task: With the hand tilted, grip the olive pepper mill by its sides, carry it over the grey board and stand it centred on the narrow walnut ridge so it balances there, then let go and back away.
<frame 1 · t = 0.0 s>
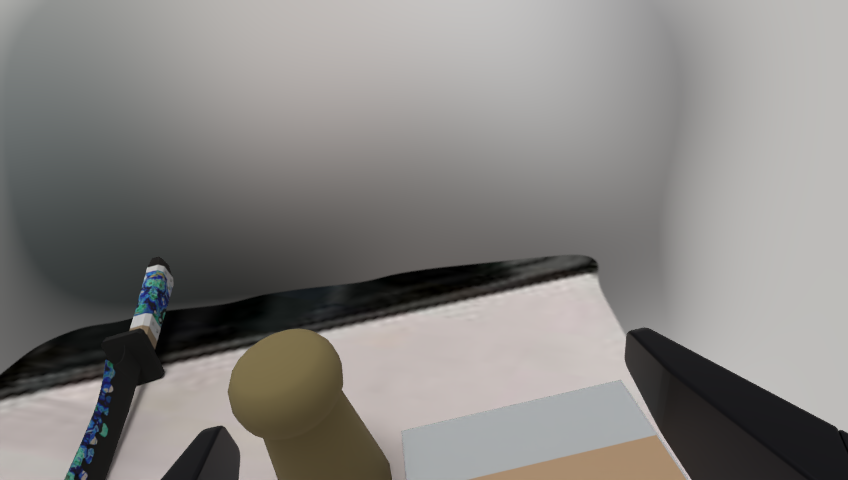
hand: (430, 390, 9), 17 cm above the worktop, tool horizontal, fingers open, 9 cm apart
knife: (133, 412, 33), on the worktop
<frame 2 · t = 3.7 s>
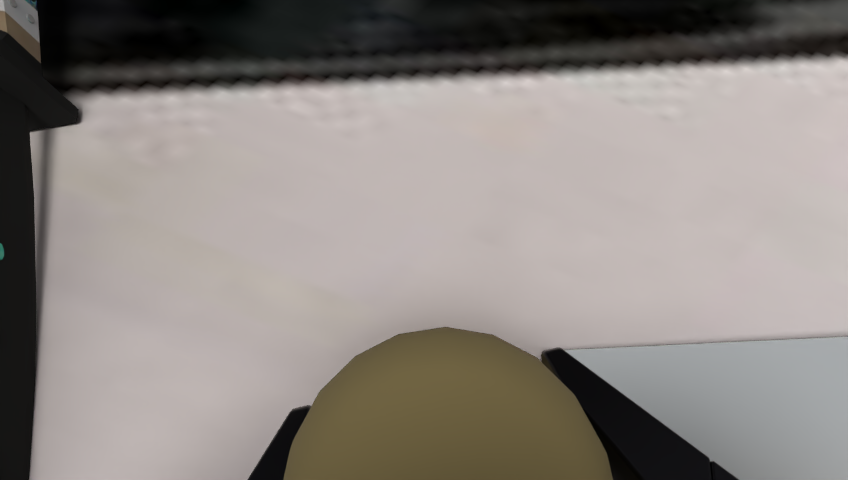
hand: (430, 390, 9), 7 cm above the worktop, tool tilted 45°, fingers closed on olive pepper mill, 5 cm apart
olive pepper mill: (442, 410, 16), on the worktop, touching gripper
knife: (46, 187, 19), on the worktop
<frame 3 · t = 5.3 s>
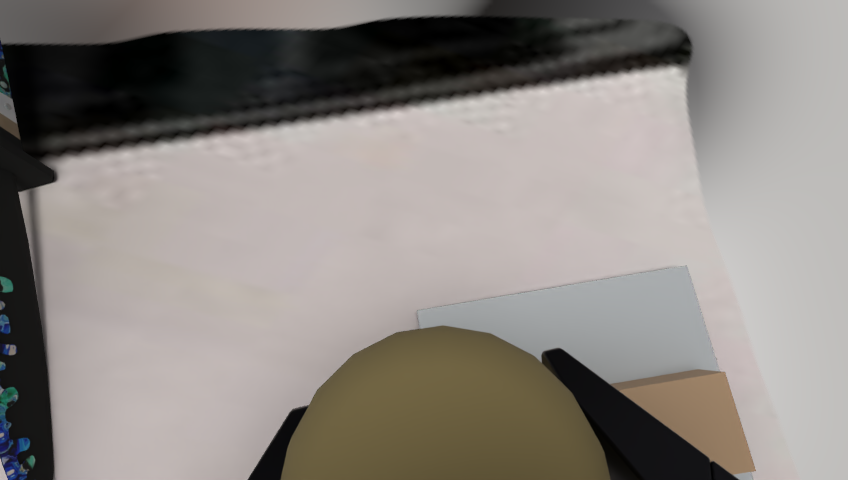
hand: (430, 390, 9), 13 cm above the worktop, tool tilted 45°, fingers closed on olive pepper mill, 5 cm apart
olive pepper mill: (440, 409, 16), point 6 cm above the worktop, touching gripper
knife: (36, 233, 25), on the worktop
ridge board: (579, 429, 21), on the worktop
when the fingers open (10 cm above the worktop, at t = 6.9 s): olive pepper mill stays where it is, resting on ridge board.
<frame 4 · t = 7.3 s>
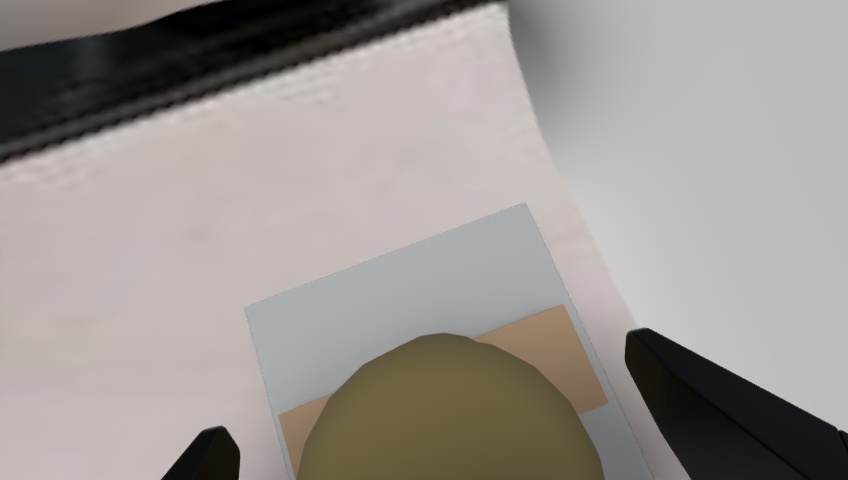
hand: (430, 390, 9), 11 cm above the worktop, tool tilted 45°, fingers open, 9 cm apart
olive pepper mill: (443, 412, 17), point 3 cm above the worktop, touching ridge board
ridge board: (441, 400, 19), on the worktop
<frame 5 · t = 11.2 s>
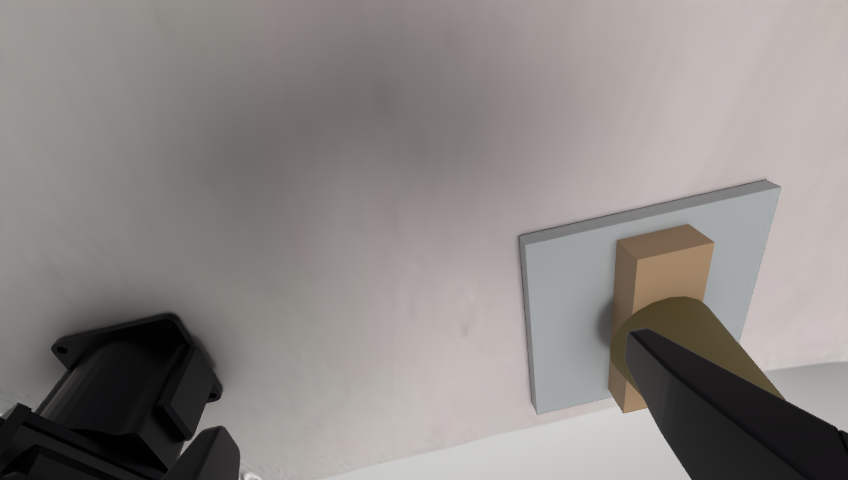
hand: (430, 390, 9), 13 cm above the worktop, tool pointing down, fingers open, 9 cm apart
olive pepper mill: (658, 336, 25), point 3 cm above the worktop, touching ridge board
ridge board: (634, 305, 27), on the worktop
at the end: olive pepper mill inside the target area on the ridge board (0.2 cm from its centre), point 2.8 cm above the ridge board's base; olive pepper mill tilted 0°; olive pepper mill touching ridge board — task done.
